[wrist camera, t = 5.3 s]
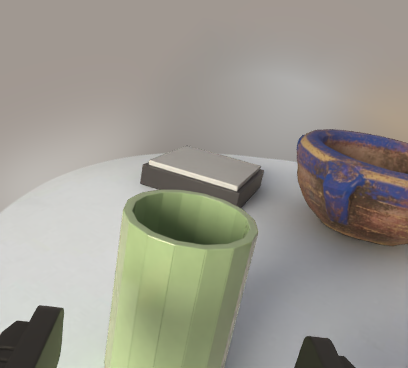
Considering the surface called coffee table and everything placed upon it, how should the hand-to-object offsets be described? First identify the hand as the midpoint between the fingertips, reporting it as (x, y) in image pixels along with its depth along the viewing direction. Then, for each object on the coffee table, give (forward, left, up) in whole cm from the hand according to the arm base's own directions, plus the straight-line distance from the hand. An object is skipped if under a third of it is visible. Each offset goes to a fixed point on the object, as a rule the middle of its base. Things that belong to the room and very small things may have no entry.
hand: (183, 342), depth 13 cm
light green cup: (-2, +5, -7) cm, 9 cm away
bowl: (+8, +35, -7) cm, 37 cm away
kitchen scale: (-11, +34, -7) cm, 37 cm away
